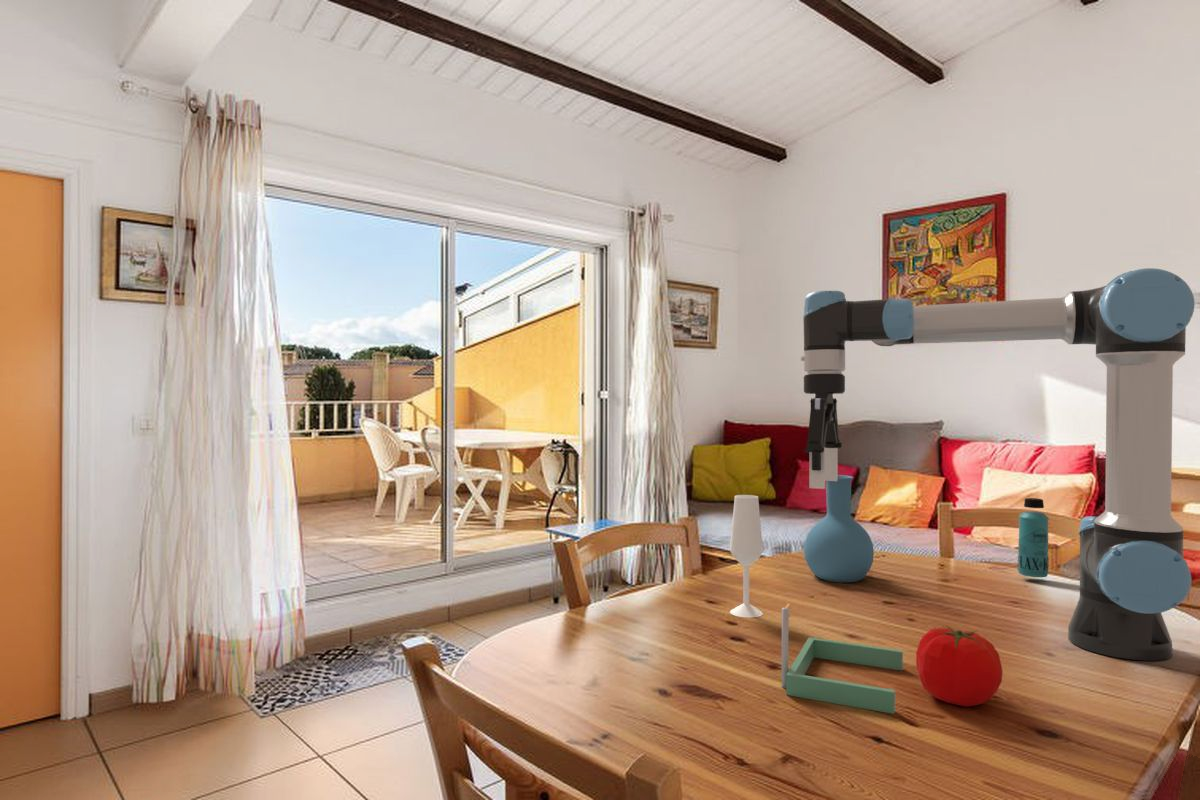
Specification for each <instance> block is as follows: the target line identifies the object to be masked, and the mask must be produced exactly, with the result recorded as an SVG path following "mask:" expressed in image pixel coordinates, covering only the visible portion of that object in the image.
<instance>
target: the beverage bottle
mask: <svg viewBox="0 0 1200 800" xmlns="http://www.w3.org/2000/svg"><path fill="white" fill-rule="evenodd" d="M1023 506H1024V508H1029V509H1045V508H1044V507H1045V505H1044V500H1043V499H1041V498H1037V497H1029V498H1028V497H1027V498H1024V504H1023ZM1018 521H1019V523H1018V542H1017V543H1018V544H1017V548H1018V549H1017V555H1018V556H1017V571H1018V573H1019V575H1021V576H1025V577H1031V578H1047V577H1048V574H1050V573H1049V569H1050V567H1049V563H1050V562H1049V560H1050V559H1049V517H1048V516H1047V515H1046V514H1045V512H1041V511H1040V512H1039V511H1029V510H1027V511H1023V512H1022V513H1020V514H1019V515H1018Z"/></svg>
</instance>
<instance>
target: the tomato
mask: <svg viewBox="0 0 1200 800" xmlns="http://www.w3.org/2000/svg"><path fill="white" fill-rule="evenodd" d="M976 632H978V630H975V631H970V630H958V629H957V631H956V630H954V629H953V628H951V627H949V626H948V625H946V627H944V628H942V627H939V628H936V627H933V628H931V629H930V630H928V631H927V632H926V633H924V634H923V635H922V637H921V639H920V640H919V643H918V646H917V649H916V657H915V665H916V668H917V672H918V675H919V676H918V677H919V679H920V683H921V684H922V686H923V688H924V690H926V691H927V692H928V693H929V694H930V695H931V696H933V697H934V698H936V699H937V700H940V701H943V702H945V703H948V704H953V705H957V706H962V707H967V708H968V707H973V706H977V705H979V706H980V705H983V704H985V703H987V702H989V700H990V699H991V698H992V697H993V696H994V695H995V694H996V693H997V691H998V689H999V688H1000V685H1001V684H1002V680H1003V667H1002V662H1001V658H1000V654H999V652H998V651H997V649H996V647H995V646H994V645H993V644H992V642H990V641H989V640H988V639H986V638H985V637H983V636H981V635H979V634H978V633H976Z"/></svg>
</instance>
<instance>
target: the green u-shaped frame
mask: <svg viewBox="0 0 1200 800" xmlns="http://www.w3.org/2000/svg"><path fill="white" fill-rule="evenodd" d="M790 617H791V603H789V602H788V603H787V604H786V605H785V606H784V607H782V608H781V688H784V689H786V690H785V691H786V692H785V694H786V696H791V697H796V698H797V697H798V698H802V699H808V700H813V701H814V700H815V701H820V702H824V703H830V704H832V703H833V704H837V705H842V706H848V707H853V708H858V709H865V710H871V711H875V712H876V711H877V712H882V713H887V714H892V715H895V713H896V690H895V689H890V688H886V687H885V688H884V687H879V686H873V685H868V684H859V683H855V682H848V681H843V680H842V681H841V680H835V679H829V678H823V677H819V676H813V675H812V676H810V675H806V673H807V671H808V669H809V667H810V665H811V664H812V662H813V659H814V658H817V659H822V660H823V659H824V660H827V661H828V660H830V661H836V662H843V663H848V664H849V663H850V664H856V665H862V666H869V667H876V668H882V669H887V670H895V671H902V672H903V670H904V668H903V667H904V662H903V661H904V650H903V649H896V648H888V647H882V646H874V645H867V644H860V643H855V642H854V643H852V642H846V641H838V640H832V639H825V638H817V637H809V636H808V638H807V640H806V641H805V643H804V645H803V646H802V648H801V650H800V652H799V653H798V655H797V656H796V658H795V660H794V661H793V663H792V664H791V666H790V668H789V633H790V631H789V621H790V620H789V618H790Z"/></svg>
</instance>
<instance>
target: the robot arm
mask: <svg viewBox="0 0 1200 800" xmlns="http://www.w3.org/2000/svg"><path fill="white" fill-rule="evenodd" d="M1195 305H1196V304H1195V297H1194V294H1193V291H1192V289H1191V288H1190V286H1189V284H1188V283H1187V282H1186V281H1185V280H1184V279H1182V278H1181V277H1180V276H1179V275H1177V274H1176V273H1173V272H1171V271H1168V270H1164V269H1161V268H1154V267H1152V268H1150V267H1149V268H1148V267H1147V268H1140V269H1139V268H1138V269H1134V270H1129V271H1127V272H1126V271H1125V272H1124V273H1121V274H1120V275H1118V276H1116V277H1114V278H1113V279H1112V280H1110V282H1108V284H1107V285H1106V284H1105V285H1104V286H1101V287H1096V288H1092V289H1086V290H1077V291H1069V292H1067V293H1066V294H1065V295H1063V296H1062V297H1053V298H1033V299H1019V300H1017V299H1016V300H999V301H998V300H997V301H979V302H962V303H961V302H960V303H958V302H957V303H944V304H943V303H942V304H928V305H927V304H925V305H924V304H923V305H914V302H913V300H911V298H910V299H909V298H894V297H892V298H891V297H890V298H886V299H884V298H883V299H868V300H858V301H854V300H852V301H851V300H847V299H846V294H845V293H844V292H843V291H840V290H818V291H817V290H816V291H813V292H810V293H808V294H807V295H806V296H805V297H804V308H803V311H804V312H803V317H802V319H803V354H804V355H802V356H801V357H800V361H802V362H803V370H804V372H805V373H806V372H807V374H804V375H803V392H804V394H808V395H811V394H812V395H815V397H814V398H810V401H809V402H810V413H809V422H808V423H809V425H808V433H807V442H806V446H804V452H805V453H808V454H809V456H808V457H809V461H808V462H809V463H808V464H809V466H808V467H809V470H808V471H809V482H808V484H809V485H808V486H809V489H821V490H826V482H827V481H838V473H839V471H838V467H839V466H838V465H839V464H838V463H839V461H838V458H839V457H838V456H839V455H838V454H839V452H838V451H839V450H838V449H841V448H842V446H843V445H842V442H841V441H840V435H839V434H840V433H839V423H838V422H839V421H838V411H837V410H838V409H837V405H838V403H837V402H838V400H837V398H834V397H833V395H838V394H840V395H841V394H844V393H845V391H846V376H845V375H844V373H843V372H845V370H846V347H845V345H846V342H864V341H865V342H866V341H867V342H868V341H871V342H872V343H874V344H875V345H877V346H880V347H893V346H895V345H896V346H897V345H912V344H913V345H915V344H918V345H919V344H920V345H921V344H941V343H942V344H945V343H946V344H947V343H977V342H980V343H982V342H1009V341H1039V340H1040V341H1041V340H1042V341H1043V340H1046V341H1047V340H1062V341H1064V342H1065V343H1066V344H1068V345H1095V357H1096V359H1098V360H1100V361H1101V362H1102V363H1103V364H1104V365H1105V367H1106V394H1105V395H1106V400H1105V401H1106V405H1105V407H1106V408H1105V409H1106V410H1105V412H1106V414H1105V415H1106V416H1105V423H1106V424H1105V486H1104V488H1105V493H1104V494H1105V495H1104V497H1105V499H1104V500H1105V501H1104V502H1105V503H1104V504H1105V507H1104V508H1105V509H1104V511H1103V512H1102V513H1101V514H1100V515H1098V516H1084V517H1082V519H1081V520H1080V523H1079V525H1080V526H1079V530H1078V535H1079V598H1078V601H1077V604H1076V606H1075V609H1074V611H1073V614H1072V617H1071V619H1070V620H1069V624H1068V630H1067V631H1068V632H1067V633H1068V634H1067V635H1068V636H1067V637H1068V638H1067V639H1068V640H1069V641H1070V643H1072V644H1074V645H1075V646H1077V647H1079V648H1082V649H1084V650H1087V651H1090V652H1093V653H1096V654H1099V655H1104V656H1109V657H1113V658H1118V659H1119V658H1120V659H1125V660H1133V661H1134V660H1135V661H1148V662H1149V661H1150V662H1151V661H1154V662H1155V661H1164V660H1167V659H1170V658H1172V656H1173V642H1172V641H1173V640H1172V638H1171V636H1170V633H1169V630H1168V627H1167V625H1166V622H1165V620H1164V616H1163V614H1162V613H1165V612H1167V611H1170V610H1172V609H1174V608H1175V607H1177V606H1178V605H1180V604H1181V603H1183V602H1184V601H1185V599H1186V598H1187V596H1188V594H1189V593H1190V591H1191V587H1192V574H1191V570H1190V567H1189V565H1188V563H1187V560H1185V558H1184V527H1183V526H1182V525H1181V524H1180V523H1179V522H1178V521H1177V520H1176V519H1174V518H1173V517H1172V471H1173V470H1172V468H1173V466H1172V465H1173V464H1172V460H1173V459H1172V458H1173V455H1172V454H1173V452H1172V451H1173V447H1172V446H1173V387H1174V385H1173V383H1174V382H1173V377H1174V376H1173V375H1174V374H1173V373H1174V371H1173V370H1174V369H1173V368H1174V365H1175V363H1177V362H1178V361H1179V360H1180V359H1181V358H1183V357H1184V356H1185V355H1186V341H1187V340H1186V334H1187V332H1186V331H1187V329H1186V328H1187V326H1188V325H1189V323H1190V322H1191V319H1192V317H1193V315H1194V311H1195Z"/></svg>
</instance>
